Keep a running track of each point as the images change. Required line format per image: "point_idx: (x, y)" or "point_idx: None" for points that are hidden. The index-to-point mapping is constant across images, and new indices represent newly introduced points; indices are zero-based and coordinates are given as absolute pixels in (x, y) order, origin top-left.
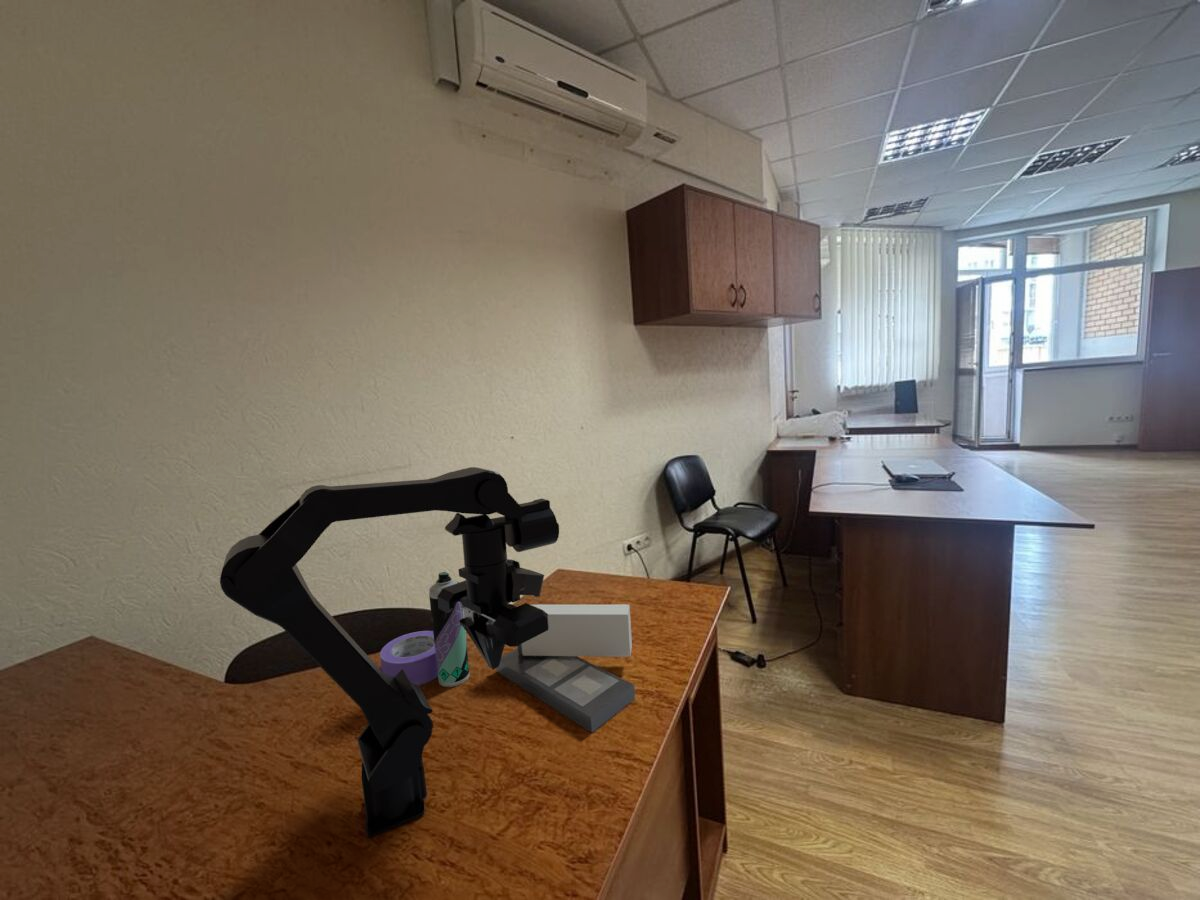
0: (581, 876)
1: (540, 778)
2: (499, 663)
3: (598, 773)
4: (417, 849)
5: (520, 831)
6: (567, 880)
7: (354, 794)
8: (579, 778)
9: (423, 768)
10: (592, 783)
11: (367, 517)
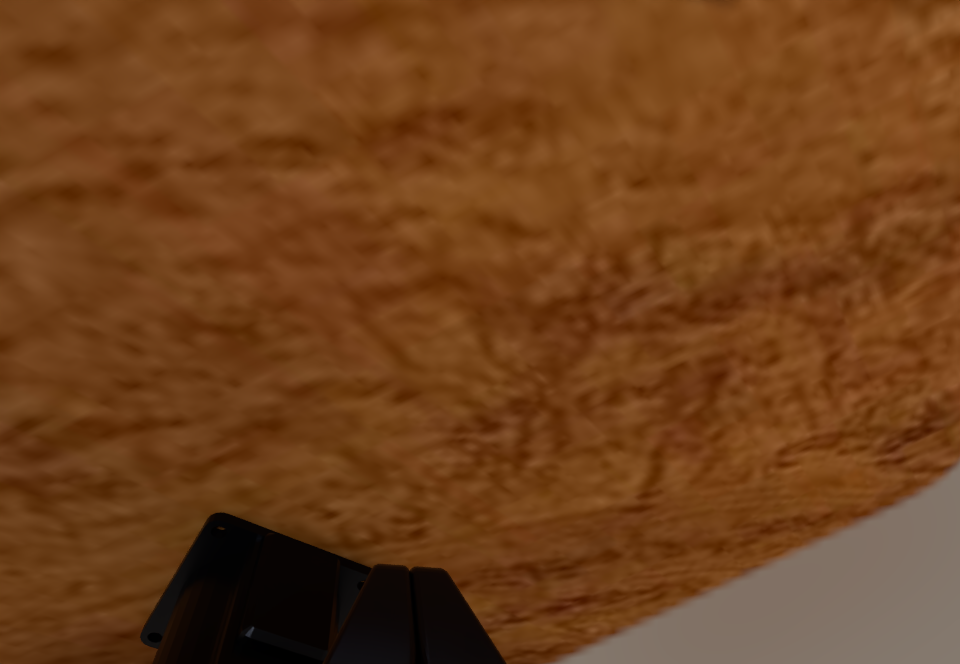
0: (926, 464)
1: (654, 280)
2: (460, 595)
3: (879, 139)
4: None
5: (703, 460)
6: (893, 487)
7: (80, 639)
8: (809, 202)
9: (326, 651)
10: (869, 197)
11: None
